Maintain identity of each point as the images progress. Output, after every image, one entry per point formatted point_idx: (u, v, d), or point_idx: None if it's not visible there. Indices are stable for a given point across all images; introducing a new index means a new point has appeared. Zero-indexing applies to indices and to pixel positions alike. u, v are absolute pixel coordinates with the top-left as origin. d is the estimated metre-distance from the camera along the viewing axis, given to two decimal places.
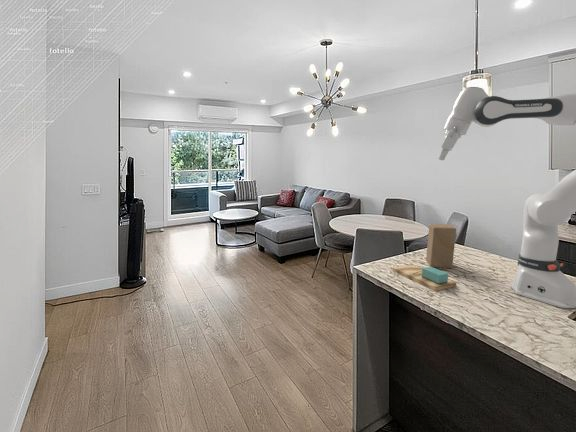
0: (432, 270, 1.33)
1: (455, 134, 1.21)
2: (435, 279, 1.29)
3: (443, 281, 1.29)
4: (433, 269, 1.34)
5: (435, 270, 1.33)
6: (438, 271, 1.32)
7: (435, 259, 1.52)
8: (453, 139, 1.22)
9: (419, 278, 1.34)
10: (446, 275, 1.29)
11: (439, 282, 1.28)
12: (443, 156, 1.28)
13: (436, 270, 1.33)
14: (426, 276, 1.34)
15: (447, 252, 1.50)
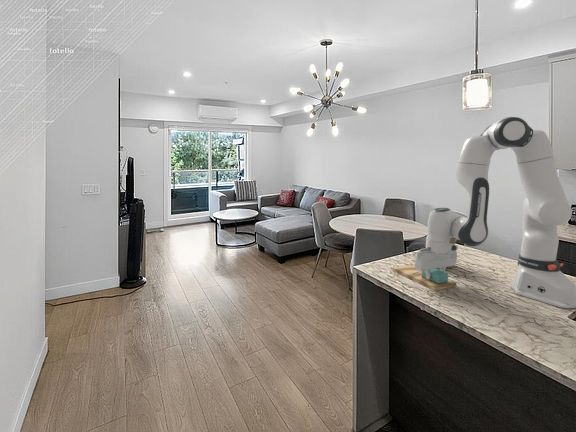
0: (432, 270, 1.33)
1: (421, 256, 1.27)
2: (435, 279, 1.29)
3: (443, 281, 1.29)
4: (433, 269, 1.34)
5: (435, 270, 1.33)
6: (438, 271, 1.32)
7: None
8: (420, 261, 1.27)
9: (419, 278, 1.34)
10: (446, 275, 1.29)
11: (439, 282, 1.28)
12: (428, 275, 1.31)
13: (436, 270, 1.33)
14: None
15: None
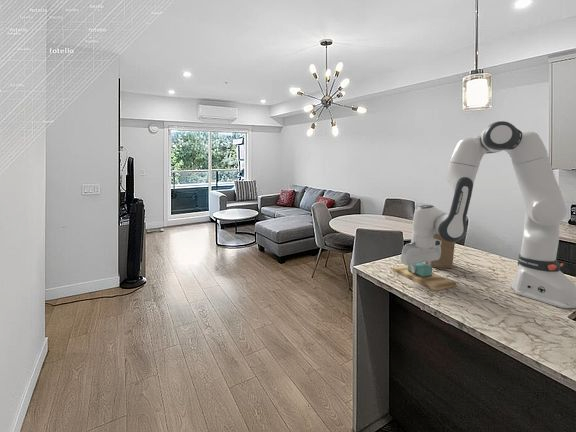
0: (418, 264, 1.41)
1: (406, 251, 1.34)
2: (420, 272, 1.37)
3: (427, 274, 1.36)
4: (418, 263, 1.41)
5: (420, 264, 1.40)
6: (423, 265, 1.39)
7: None
8: (406, 255, 1.34)
9: (419, 278, 1.34)
10: (430, 269, 1.36)
11: (423, 275, 1.35)
12: (413, 269, 1.38)
13: (421, 264, 1.40)
14: None
15: (447, 252, 1.50)
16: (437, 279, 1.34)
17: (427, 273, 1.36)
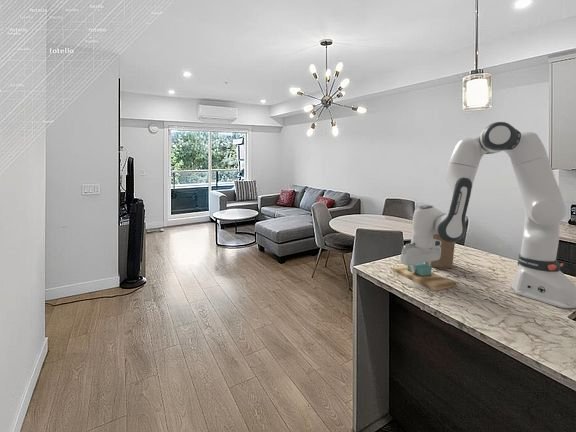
0: None
1: (406, 251, 1.35)
2: (419, 272, 1.38)
3: (427, 274, 1.37)
4: (418, 263, 1.42)
5: (420, 263, 1.41)
6: (422, 264, 1.40)
7: None
8: (405, 256, 1.35)
9: (419, 278, 1.34)
10: (429, 268, 1.37)
11: (423, 275, 1.36)
12: (413, 269, 1.39)
13: (421, 263, 1.41)
14: (411, 269, 1.42)
15: (447, 252, 1.50)
16: (437, 279, 1.34)
17: (426, 272, 1.37)
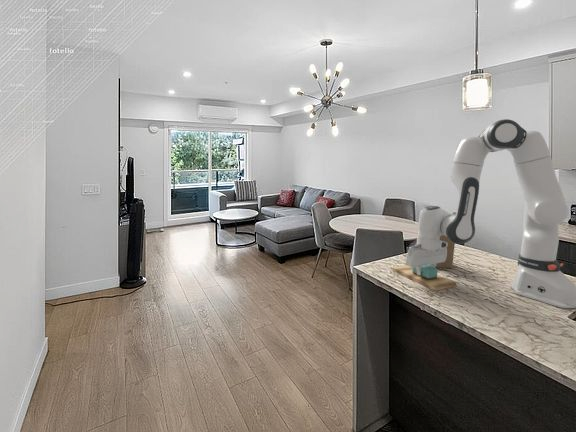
0: None
1: (412, 253, 1.31)
2: (425, 274, 1.34)
3: (433, 276, 1.34)
4: None
5: (425, 266, 1.38)
6: (428, 266, 1.36)
7: None
8: (411, 258, 1.31)
9: (419, 278, 1.34)
10: (435, 270, 1.34)
11: (429, 277, 1.33)
12: (419, 271, 1.35)
13: (426, 266, 1.38)
14: (416, 271, 1.38)
15: (447, 252, 1.50)
16: (437, 279, 1.34)
17: (432, 275, 1.33)
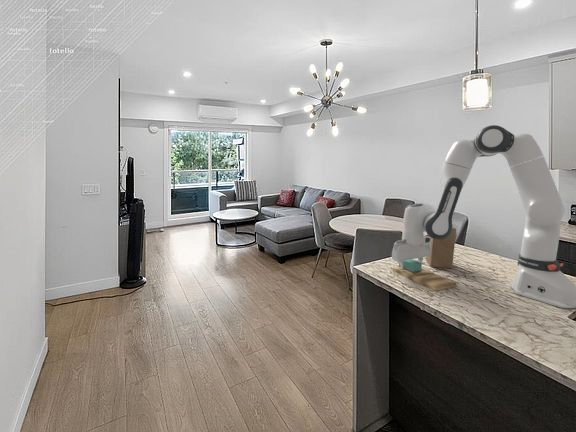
0: (408, 260, 1.46)
1: (397, 248, 1.39)
2: (410, 268, 1.42)
3: (417, 270, 1.42)
4: (409, 259, 1.47)
5: (410, 260, 1.46)
6: (413, 261, 1.45)
7: (435, 259, 1.52)
8: (396, 252, 1.39)
9: (419, 278, 1.34)
10: (420, 264, 1.42)
11: (413, 271, 1.41)
12: (401, 265, 1.43)
13: (411, 260, 1.46)
14: None
15: (447, 252, 1.50)
16: (437, 279, 1.34)
17: (417, 269, 1.42)
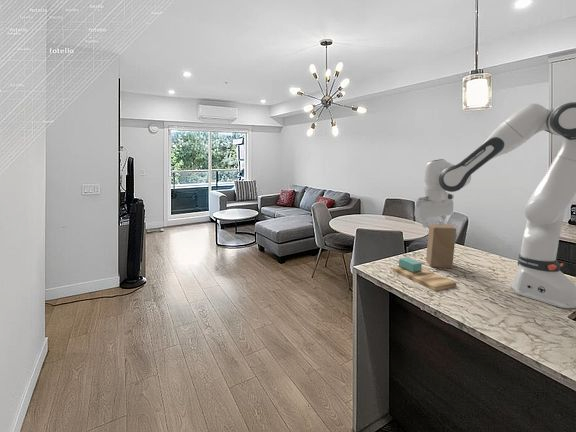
0: (408, 260, 1.46)
1: (420, 204, 1.36)
2: (410, 268, 1.42)
3: (417, 270, 1.42)
4: (409, 259, 1.47)
5: (410, 260, 1.46)
6: (413, 261, 1.45)
7: (435, 259, 1.52)
8: (419, 209, 1.36)
9: (419, 278, 1.34)
10: (420, 264, 1.42)
11: (413, 271, 1.41)
12: (425, 224, 1.40)
13: (411, 260, 1.46)
14: (402, 266, 1.47)
15: (447, 252, 1.50)
16: (437, 279, 1.34)
17: (417, 269, 1.42)
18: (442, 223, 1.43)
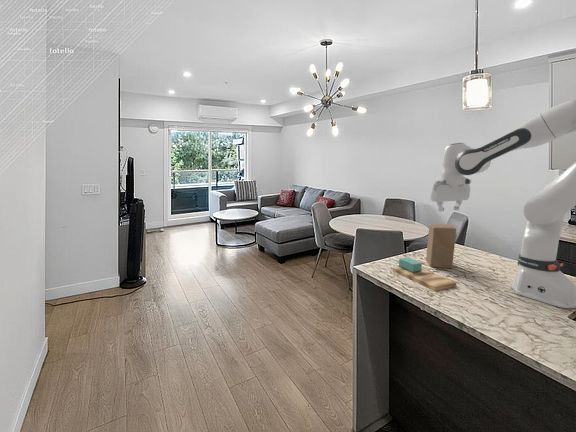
0: (408, 260, 1.46)
1: (437, 188, 1.36)
2: (410, 268, 1.42)
3: (417, 270, 1.42)
4: (409, 259, 1.47)
5: (410, 260, 1.46)
6: (413, 261, 1.45)
7: (435, 259, 1.52)
8: (436, 192, 1.36)
9: (419, 278, 1.34)
10: (420, 264, 1.42)
11: (413, 271, 1.41)
12: (440, 207, 1.40)
13: (411, 260, 1.46)
14: (402, 266, 1.47)
15: (447, 252, 1.50)
16: (437, 279, 1.34)
17: (417, 269, 1.42)
18: (458, 208, 1.43)
